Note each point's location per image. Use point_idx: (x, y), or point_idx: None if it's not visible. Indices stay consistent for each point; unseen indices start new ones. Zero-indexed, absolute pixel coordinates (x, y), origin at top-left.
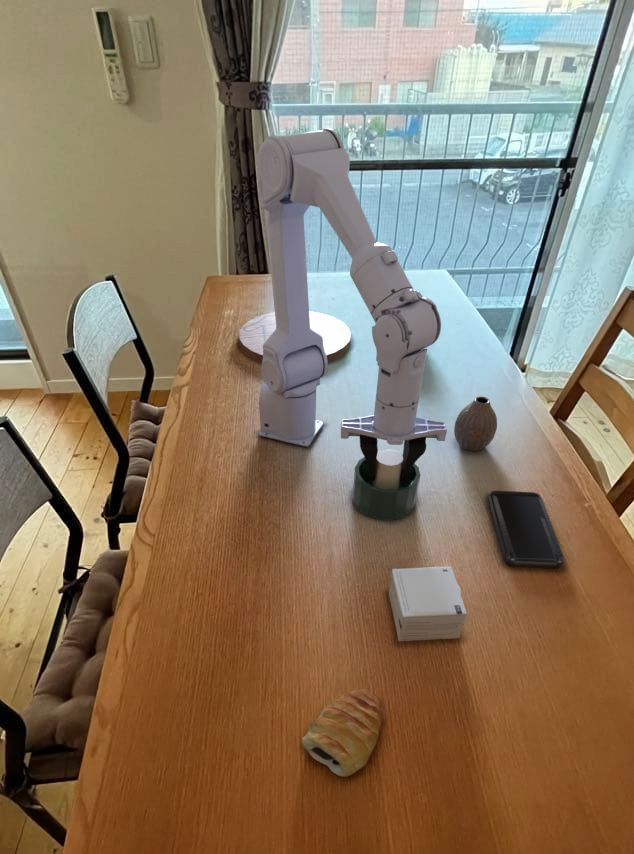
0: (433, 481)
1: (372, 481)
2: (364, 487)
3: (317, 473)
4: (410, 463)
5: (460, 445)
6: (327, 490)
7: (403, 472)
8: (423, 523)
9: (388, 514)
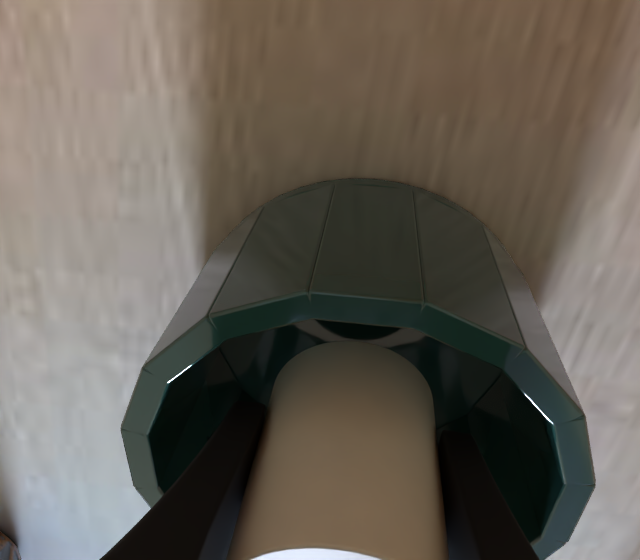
0: (111, 405)
1: None
2: (561, 375)
3: (632, 508)
4: (154, 545)
5: (7, 547)
6: (632, 414)
7: (234, 463)
8: (165, 135)
9: (369, 194)
